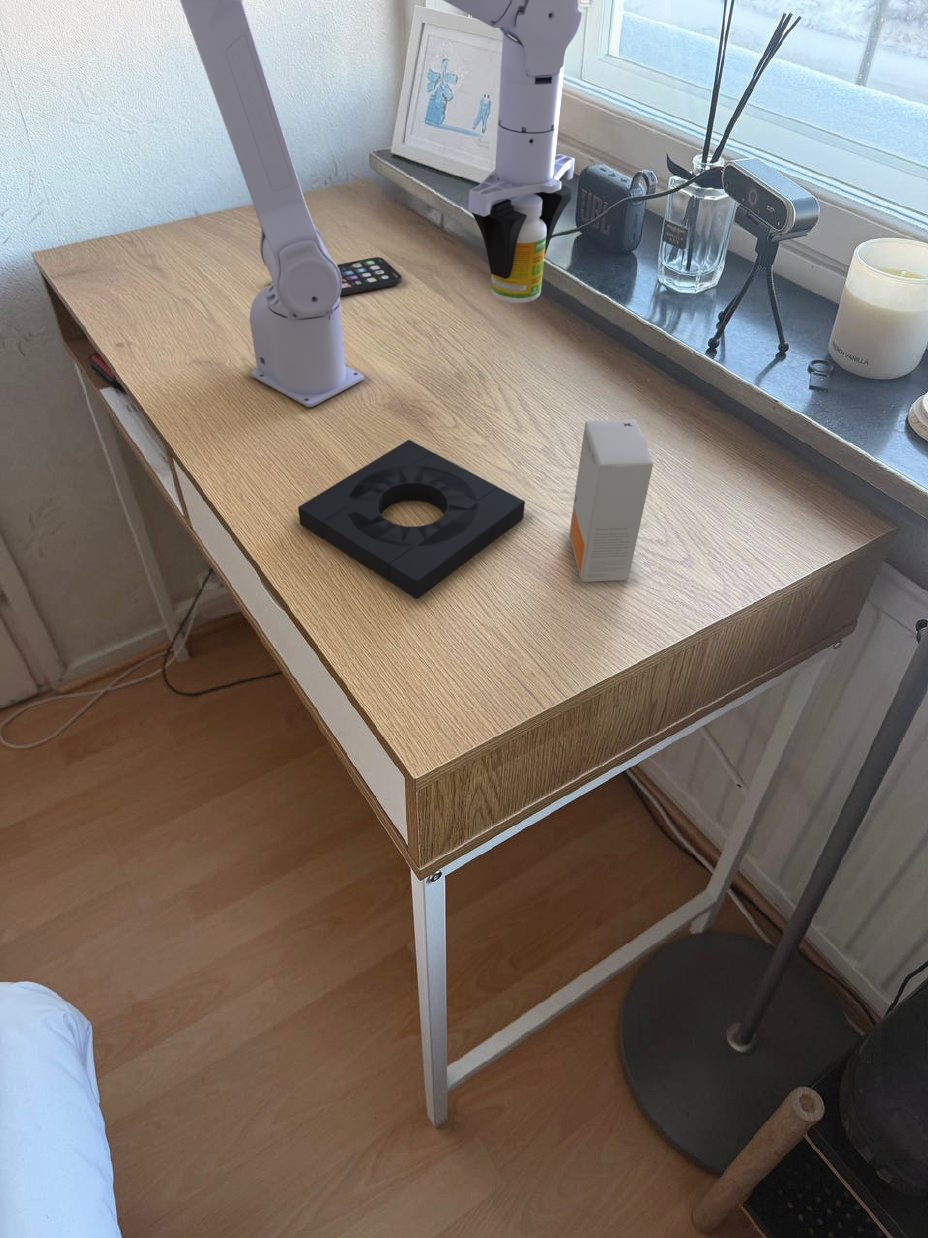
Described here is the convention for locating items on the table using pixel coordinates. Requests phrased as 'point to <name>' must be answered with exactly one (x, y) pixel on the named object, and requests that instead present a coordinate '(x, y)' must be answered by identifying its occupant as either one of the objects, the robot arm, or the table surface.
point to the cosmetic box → (609, 499)
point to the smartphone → (367, 275)
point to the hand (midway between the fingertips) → (517, 266)
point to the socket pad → (418, 550)
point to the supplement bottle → (525, 255)
